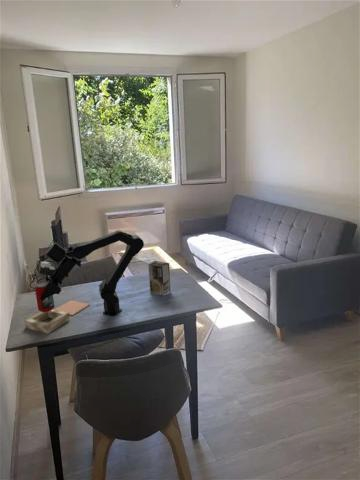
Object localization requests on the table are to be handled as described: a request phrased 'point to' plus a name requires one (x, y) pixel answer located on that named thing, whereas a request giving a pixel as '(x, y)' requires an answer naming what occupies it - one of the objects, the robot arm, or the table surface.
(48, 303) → the beverage can
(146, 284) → the table surface
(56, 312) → the holder
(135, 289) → the table surface
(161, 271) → the coffee box
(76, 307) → the mat
